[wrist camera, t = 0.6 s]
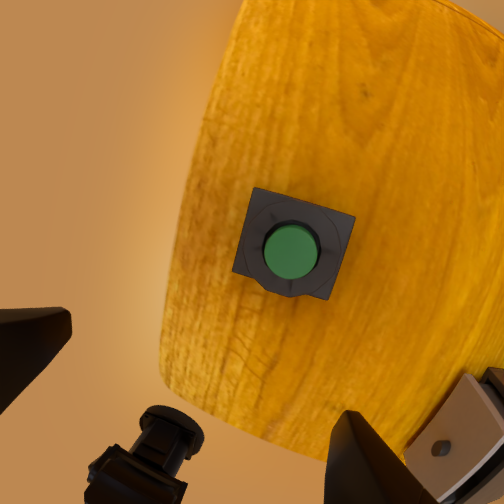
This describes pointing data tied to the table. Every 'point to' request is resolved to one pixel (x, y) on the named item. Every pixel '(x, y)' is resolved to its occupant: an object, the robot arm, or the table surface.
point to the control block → (302, 214)
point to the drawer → (460, 442)
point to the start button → (290, 252)
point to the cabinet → (500, 478)
